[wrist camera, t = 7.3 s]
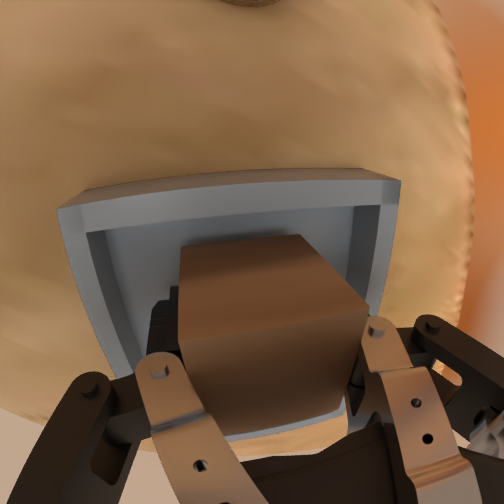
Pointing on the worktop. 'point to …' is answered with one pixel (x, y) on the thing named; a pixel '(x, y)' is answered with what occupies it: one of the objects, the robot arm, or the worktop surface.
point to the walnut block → (266, 330)
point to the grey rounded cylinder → (250, 2)
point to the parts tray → (219, 230)
